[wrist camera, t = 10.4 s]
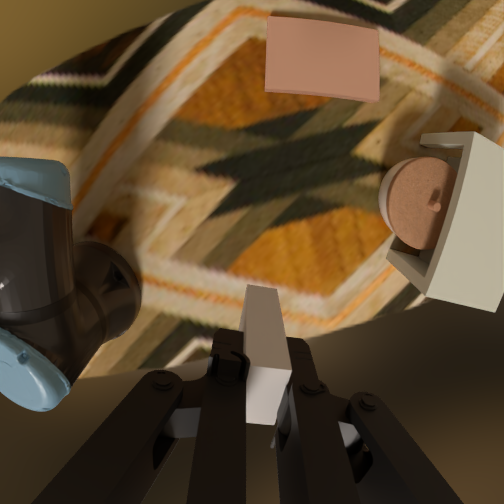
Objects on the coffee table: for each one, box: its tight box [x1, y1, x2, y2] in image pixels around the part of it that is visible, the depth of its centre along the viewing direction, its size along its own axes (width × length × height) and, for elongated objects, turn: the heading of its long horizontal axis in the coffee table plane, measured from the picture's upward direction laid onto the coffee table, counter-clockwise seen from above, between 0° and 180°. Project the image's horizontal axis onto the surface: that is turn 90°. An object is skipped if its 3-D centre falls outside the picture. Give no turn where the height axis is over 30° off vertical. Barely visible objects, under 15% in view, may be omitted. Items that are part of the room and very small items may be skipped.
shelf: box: [386, 131, 504, 312], centre depth 34 cm, size 12×18×12 cm, turn 167°
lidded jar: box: [378, 157, 457, 250], centre depth 35 cm, size 11×11×9 cm
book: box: [265, 16, 379, 103], centre depth 34 cm, size 14×10×2 cm
